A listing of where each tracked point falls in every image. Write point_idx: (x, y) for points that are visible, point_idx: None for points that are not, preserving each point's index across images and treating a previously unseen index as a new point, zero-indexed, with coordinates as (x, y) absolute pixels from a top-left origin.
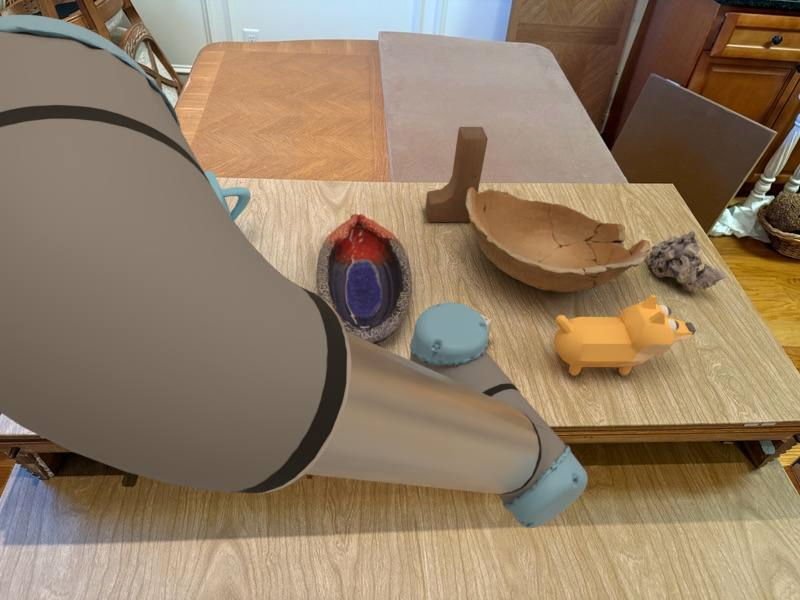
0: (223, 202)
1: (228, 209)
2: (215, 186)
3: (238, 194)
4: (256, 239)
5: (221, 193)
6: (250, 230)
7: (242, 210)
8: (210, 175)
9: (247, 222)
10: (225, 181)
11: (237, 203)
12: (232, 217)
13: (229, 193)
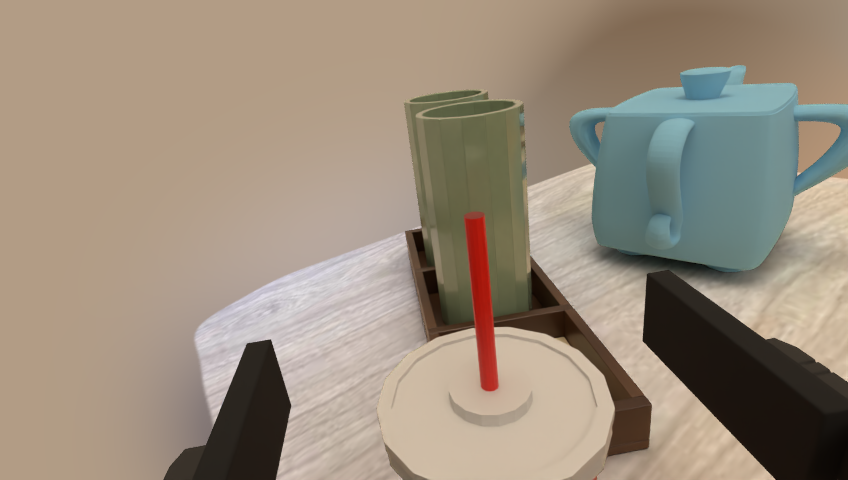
0: (785, 116)
1: (794, 155)
2: (783, 93)
3: (844, 116)
4: (845, 268)
5: (792, 104)
6: (837, 249)
7: (837, 169)
8: (784, 85)
9: (837, 236)
10: None
11: (829, 149)
12: (797, 183)
13: (816, 110)
